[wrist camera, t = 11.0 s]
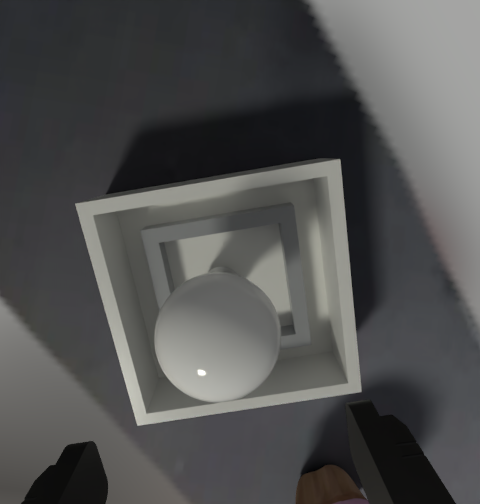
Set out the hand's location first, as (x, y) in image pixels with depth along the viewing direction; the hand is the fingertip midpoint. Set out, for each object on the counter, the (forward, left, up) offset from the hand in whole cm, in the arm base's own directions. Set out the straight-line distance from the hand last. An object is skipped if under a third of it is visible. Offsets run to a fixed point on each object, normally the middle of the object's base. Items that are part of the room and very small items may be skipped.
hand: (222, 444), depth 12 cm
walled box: (0, 0, -16) cm, 16 cm away
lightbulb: (0, 0, -15) cm, 15 cm away
